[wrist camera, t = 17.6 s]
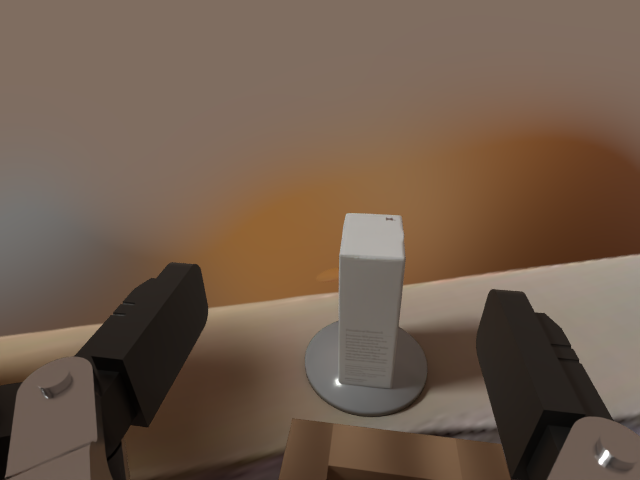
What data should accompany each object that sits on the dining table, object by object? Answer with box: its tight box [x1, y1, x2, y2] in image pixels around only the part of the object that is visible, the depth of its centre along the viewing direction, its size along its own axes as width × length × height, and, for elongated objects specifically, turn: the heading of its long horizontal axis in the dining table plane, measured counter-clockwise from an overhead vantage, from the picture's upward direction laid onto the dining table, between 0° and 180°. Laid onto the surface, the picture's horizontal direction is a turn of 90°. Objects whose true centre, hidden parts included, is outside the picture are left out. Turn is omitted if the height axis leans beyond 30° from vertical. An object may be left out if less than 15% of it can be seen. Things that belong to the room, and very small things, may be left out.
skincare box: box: [338, 213, 405, 389], centre depth 29 cm, size 6×4×12 cm
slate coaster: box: [305, 321, 427, 417], centre depth 32 cm, size 10×10×1 cm
